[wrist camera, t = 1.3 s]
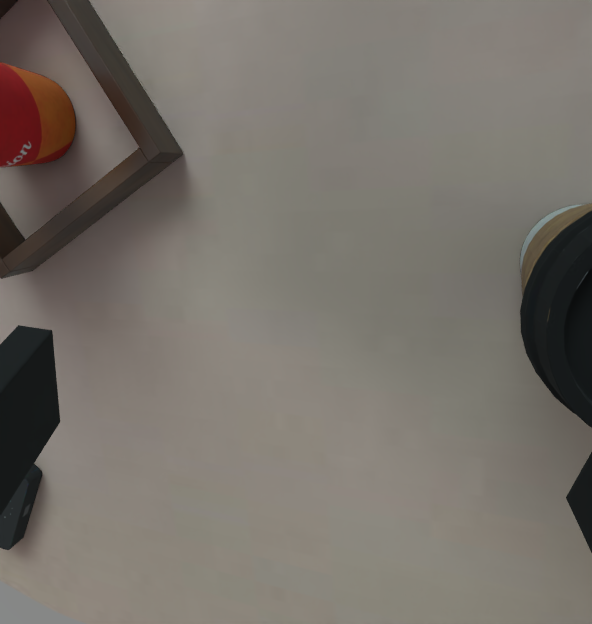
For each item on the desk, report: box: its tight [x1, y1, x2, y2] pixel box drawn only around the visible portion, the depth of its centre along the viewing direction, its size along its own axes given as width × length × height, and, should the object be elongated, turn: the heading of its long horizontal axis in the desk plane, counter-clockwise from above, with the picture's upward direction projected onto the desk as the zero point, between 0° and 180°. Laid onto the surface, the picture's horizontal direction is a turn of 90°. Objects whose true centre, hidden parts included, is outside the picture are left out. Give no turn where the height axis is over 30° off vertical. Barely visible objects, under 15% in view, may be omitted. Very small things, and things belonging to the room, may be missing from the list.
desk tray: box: [0, 0, 183, 279], centre depth 36 cm, size 15×15×3 cm
